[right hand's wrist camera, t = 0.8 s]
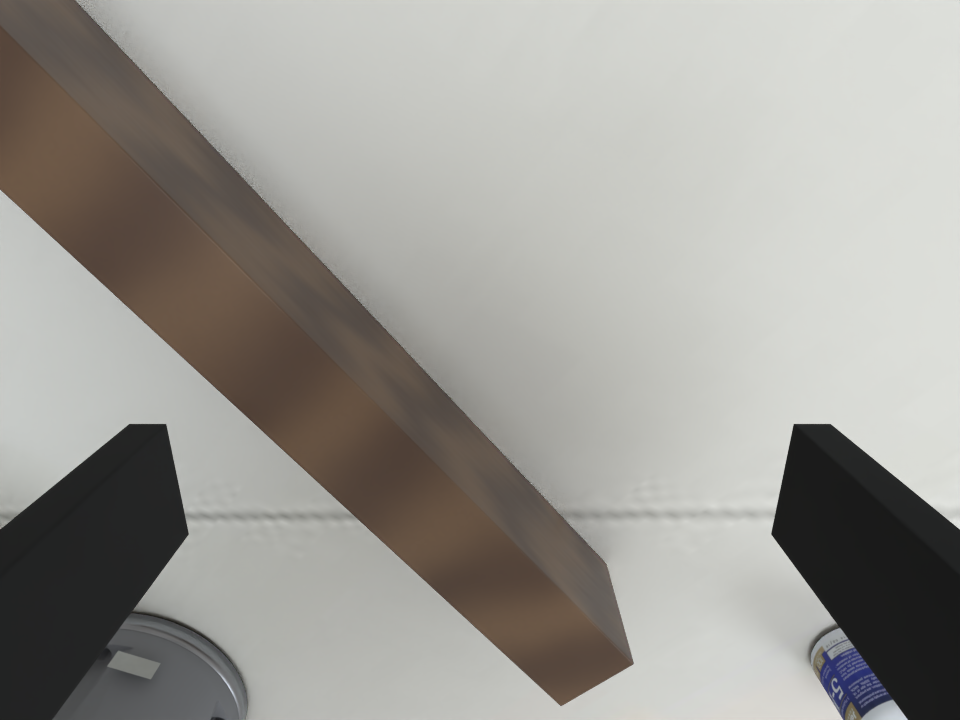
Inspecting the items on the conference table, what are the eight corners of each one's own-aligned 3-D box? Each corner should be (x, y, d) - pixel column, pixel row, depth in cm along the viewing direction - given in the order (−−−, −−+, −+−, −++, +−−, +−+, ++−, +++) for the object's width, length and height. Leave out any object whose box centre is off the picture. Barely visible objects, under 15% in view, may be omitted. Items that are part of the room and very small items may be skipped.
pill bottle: (796, 644, 42) (872, 771, 33) (868, 611, 40) (966, 734, 32) (826, 690, 43) (907, 823, 35) (896, 660, 42) (997, 789, 34)
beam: (607, 564, 40) (634, 664, 32) (547, 601, 41) (561, 707, 33) (-399, -503, 22) (-839, -818, 15) (-451, -384, 24) (-882, -621, 16)
